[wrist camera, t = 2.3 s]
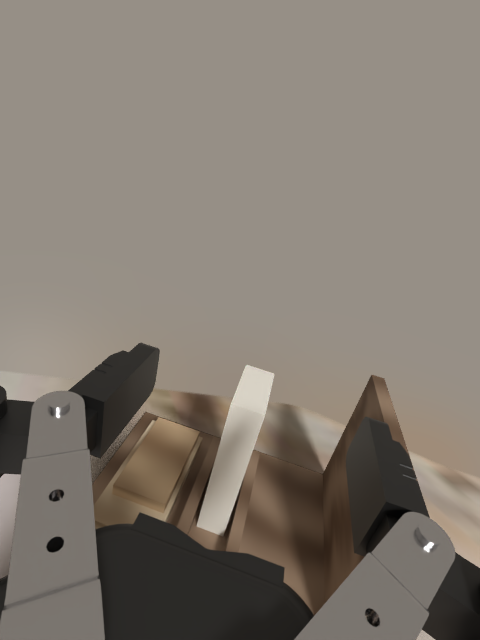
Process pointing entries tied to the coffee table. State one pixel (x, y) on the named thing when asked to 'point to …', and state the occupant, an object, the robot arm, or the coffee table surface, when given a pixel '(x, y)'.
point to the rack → (246, 497)
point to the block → (235, 448)
